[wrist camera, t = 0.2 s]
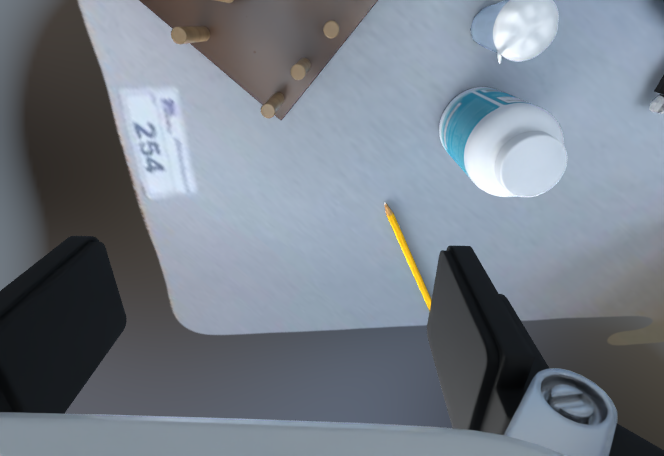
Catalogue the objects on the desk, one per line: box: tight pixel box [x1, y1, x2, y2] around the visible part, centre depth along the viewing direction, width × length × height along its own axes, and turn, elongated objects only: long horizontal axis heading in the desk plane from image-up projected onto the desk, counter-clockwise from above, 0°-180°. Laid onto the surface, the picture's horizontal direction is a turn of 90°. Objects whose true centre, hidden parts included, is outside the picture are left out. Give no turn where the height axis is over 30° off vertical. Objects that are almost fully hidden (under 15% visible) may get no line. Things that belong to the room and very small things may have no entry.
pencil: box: [384, 202, 432, 311], centre depth 47 cm, size 1×19×1 cm, turn 25°
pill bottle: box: [439, 87, 567, 197], centre depth 33 cm, size 8×7×14 cm
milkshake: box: [470, 0, 559, 64], centre depth 31 cm, size 4×5×10 cm
